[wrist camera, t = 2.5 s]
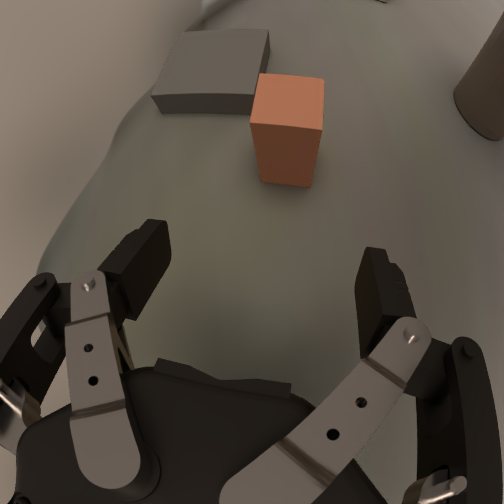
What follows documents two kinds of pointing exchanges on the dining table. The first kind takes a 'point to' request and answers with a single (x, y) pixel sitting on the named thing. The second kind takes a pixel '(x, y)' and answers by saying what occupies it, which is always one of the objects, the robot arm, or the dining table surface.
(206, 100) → the charcoal block
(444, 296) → the dining table surface
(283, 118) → the brick pillar
